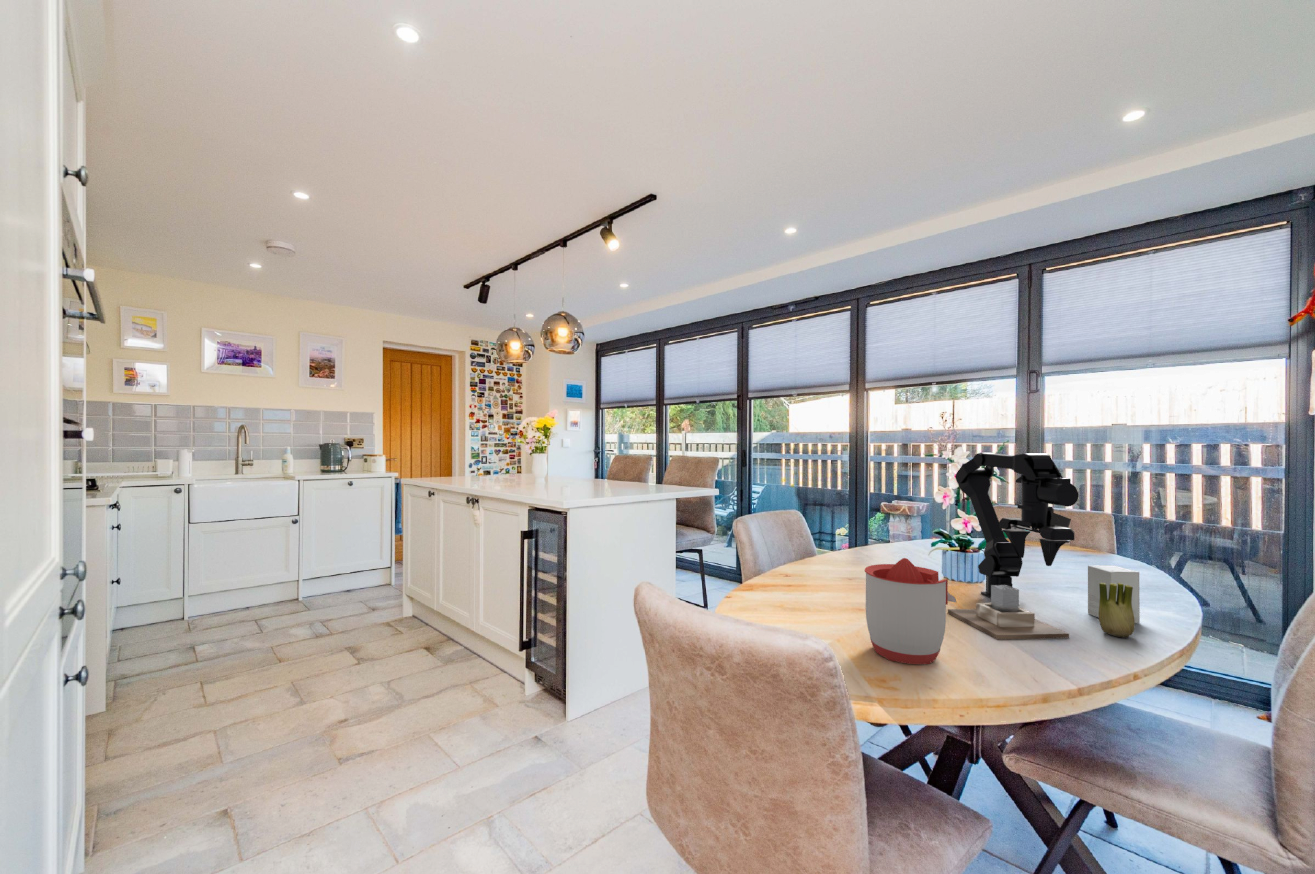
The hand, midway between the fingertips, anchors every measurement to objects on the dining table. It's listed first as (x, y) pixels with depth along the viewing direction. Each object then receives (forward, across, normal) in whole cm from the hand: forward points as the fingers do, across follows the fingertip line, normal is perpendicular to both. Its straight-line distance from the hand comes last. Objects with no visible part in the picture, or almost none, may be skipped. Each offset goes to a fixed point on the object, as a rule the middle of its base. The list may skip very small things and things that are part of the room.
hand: (1034, 561), depth 139 cm
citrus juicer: (+13, -25, +48) cm, 56 cm away
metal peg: (+12, -9, +15) cm, 21 cm away
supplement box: (+13, -6, -16) cm, 22 cm away
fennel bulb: (+13, -17, -6) cm, 22 cm away
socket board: (+13, -9, +15) cm, 22 cm away
